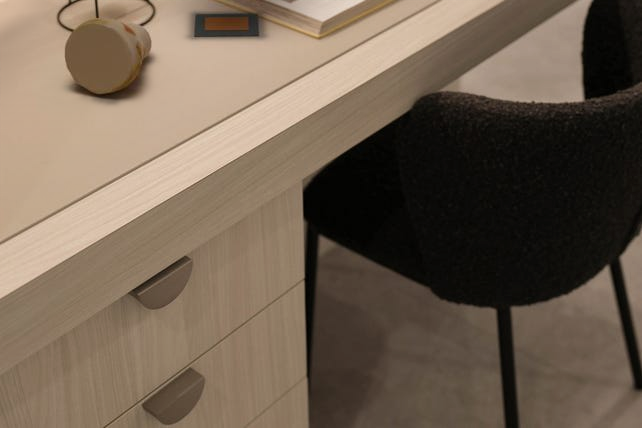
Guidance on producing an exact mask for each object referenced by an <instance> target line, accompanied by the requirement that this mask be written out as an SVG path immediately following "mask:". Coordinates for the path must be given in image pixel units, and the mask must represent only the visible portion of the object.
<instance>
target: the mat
mask: <svg viewBox="0 0 642 428" xmlns="http://www.w3.org/2000/svg"><path fill="white" fill-rule="evenodd" d="M259 29H260V28H259V13H196V14H195V20H194V32H193V33H194V34H193V37H194V38H223V37H224V38H228V37H229V38H235V37H237V38H238V37H239V38H241V37H242V38H245V37H248V38H249V37H250V38H251V37H260V30H259Z"/></svg>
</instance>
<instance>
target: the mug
mask: <svg viewBox="0 0 642 428" xmlns="http://www.w3.org/2000/svg"><path fill="white" fill-rule="evenodd" d="M152 44H153V43H152V38H151V35H150V33H149V31H148V30H147V29H146V28H145V27H143V26H142V25H140V24H138V23H134V22H126V23H123V22H121V21H119V20H116V19H112V18H109V17H96V18H91V19H88V20H86V21H83V22H82V23H80V24H79V25H78V26H76V27H75V29H73V31H72V32H71V33H70V34H69V36H68V37H67V40H66V42H65V45H64V46H65V47H64V60H65V64H66V68H67V70H68V72H69V74H70V76H71V77H72V79H73V81H74V82H75V83H76V84H78V85H79V86H81V87H83V88H84V89H86V90H88V91H89V92H91V93H93V94H96V95H104V94H110V93H111V94H112V93H115V92H118V91H122V90H123V89H125V88H126V87H128V86H129V85H131V83H133V82H134V80H135V79H136V77H137V76H138V75H139V72H140V71H141V69H142V64H143V60H144V59H146V58H147V57H148V55H149V54H150V53H151V50H152Z"/></svg>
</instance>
